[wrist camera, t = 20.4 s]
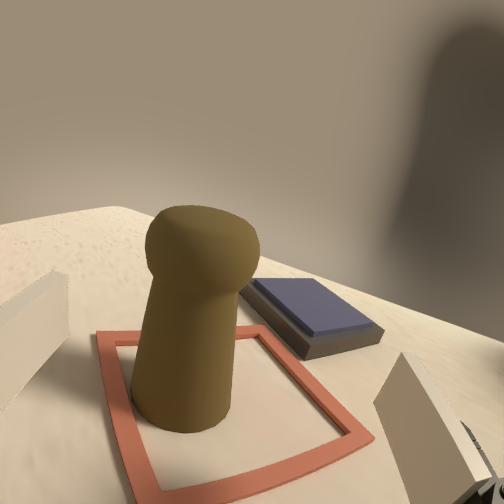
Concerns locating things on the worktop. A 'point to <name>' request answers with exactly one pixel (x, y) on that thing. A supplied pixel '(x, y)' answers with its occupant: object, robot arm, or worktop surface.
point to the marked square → (237, 487)
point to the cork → (191, 316)
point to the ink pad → (310, 316)
